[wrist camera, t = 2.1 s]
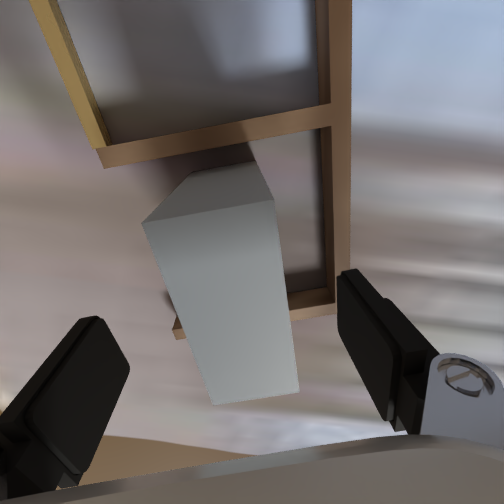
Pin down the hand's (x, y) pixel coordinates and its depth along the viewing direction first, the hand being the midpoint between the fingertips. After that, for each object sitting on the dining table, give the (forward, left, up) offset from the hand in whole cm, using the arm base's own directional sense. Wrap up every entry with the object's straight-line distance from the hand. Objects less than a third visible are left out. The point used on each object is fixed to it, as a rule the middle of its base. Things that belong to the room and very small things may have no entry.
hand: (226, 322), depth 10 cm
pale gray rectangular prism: (0, 0, -8) cm, 8 cm away
